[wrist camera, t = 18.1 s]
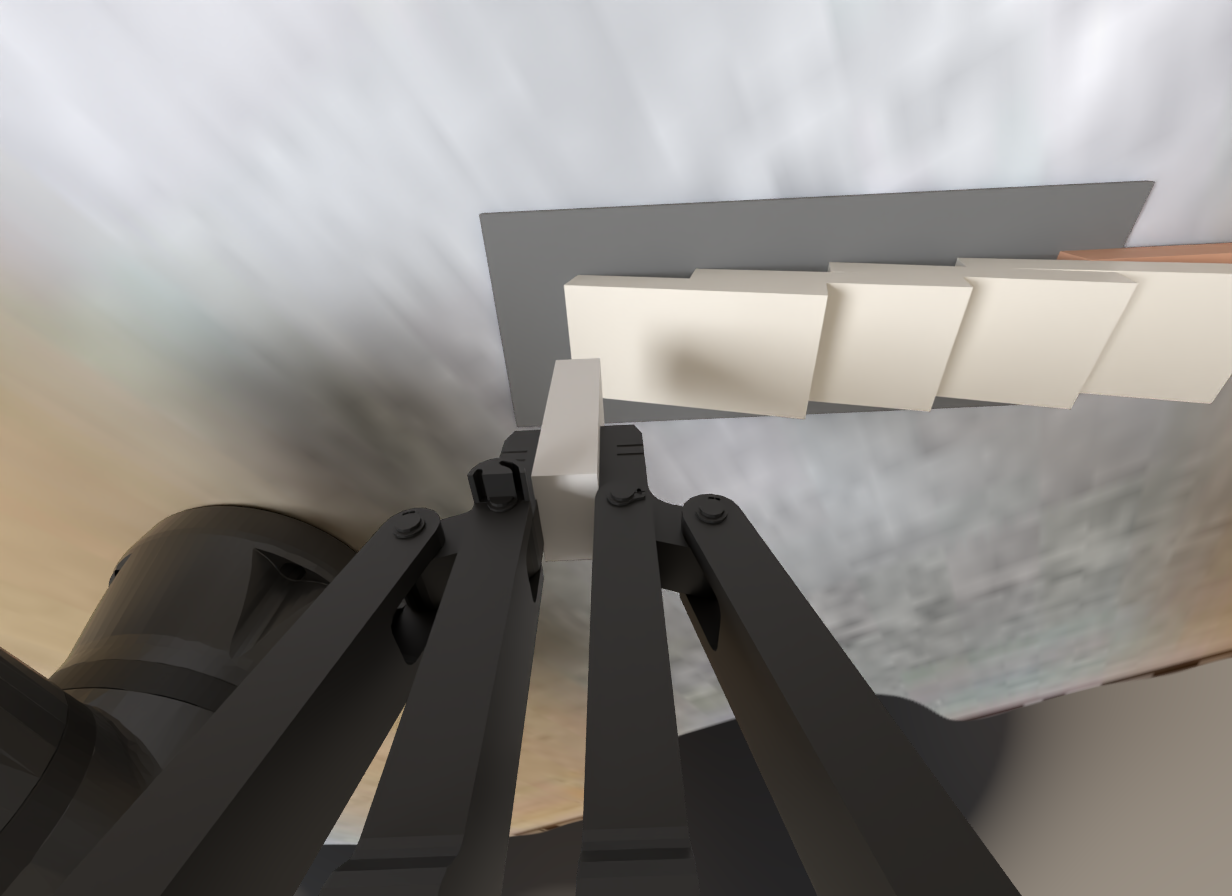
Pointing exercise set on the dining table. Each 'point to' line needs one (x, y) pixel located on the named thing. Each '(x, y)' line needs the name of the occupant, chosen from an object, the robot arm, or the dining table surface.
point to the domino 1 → (700, 340)
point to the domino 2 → (878, 333)
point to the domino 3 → (1024, 330)
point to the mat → (768, 257)
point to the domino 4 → (1158, 328)
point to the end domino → (1157, 254)
